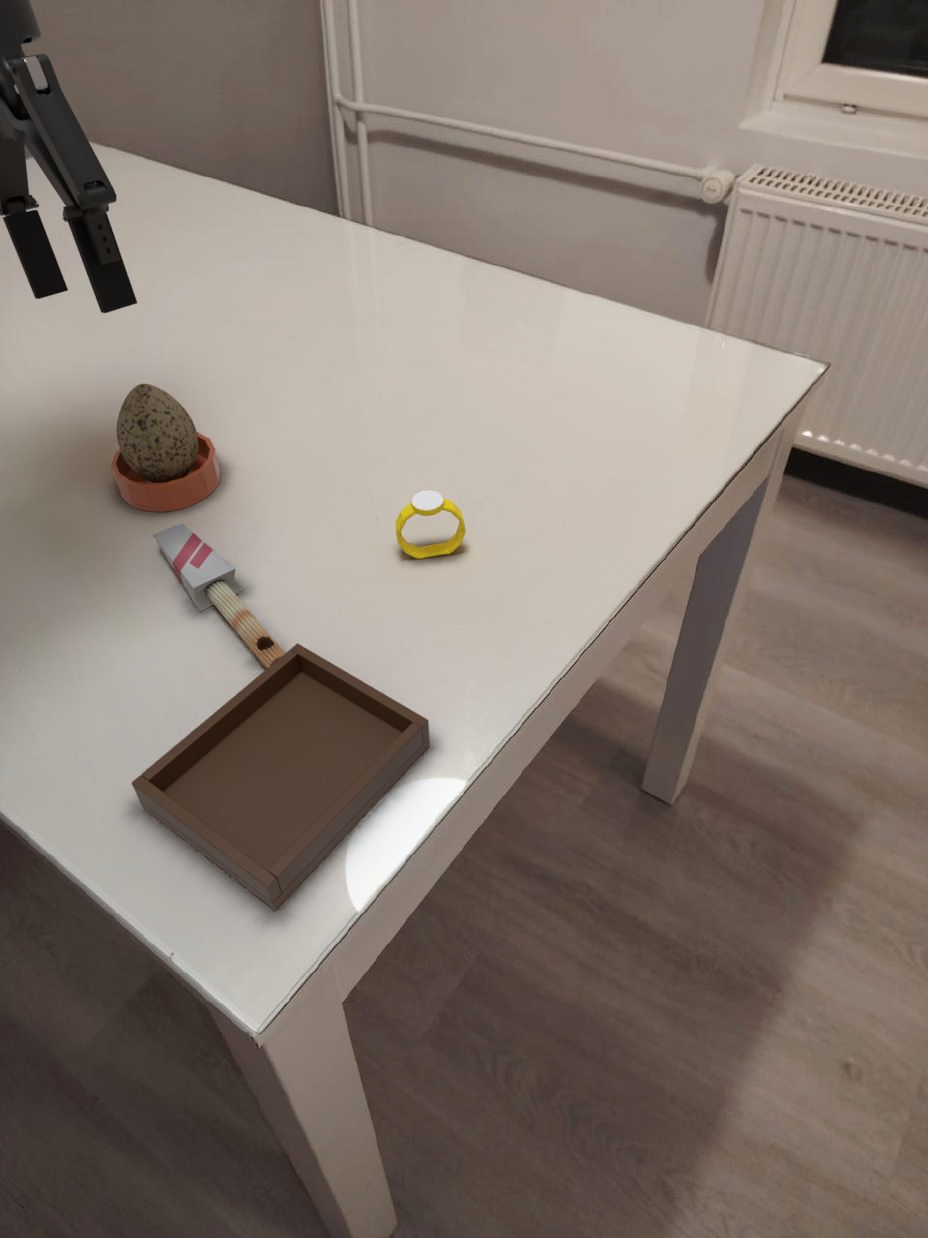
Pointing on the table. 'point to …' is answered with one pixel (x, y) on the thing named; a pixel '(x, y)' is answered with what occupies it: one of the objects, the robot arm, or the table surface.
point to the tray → (283, 771)
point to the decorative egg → (156, 435)
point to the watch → (427, 506)
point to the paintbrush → (215, 587)
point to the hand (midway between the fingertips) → (83, 301)
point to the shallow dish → (170, 482)
